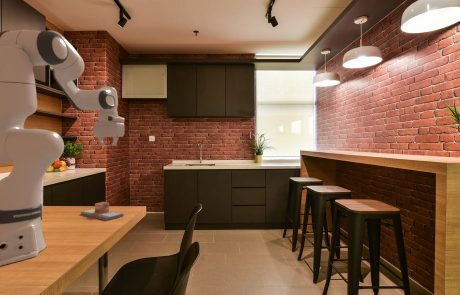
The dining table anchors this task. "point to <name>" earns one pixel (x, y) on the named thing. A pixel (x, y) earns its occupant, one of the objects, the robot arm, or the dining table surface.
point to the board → (103, 216)
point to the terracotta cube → (101, 207)
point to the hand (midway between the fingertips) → (108, 145)
